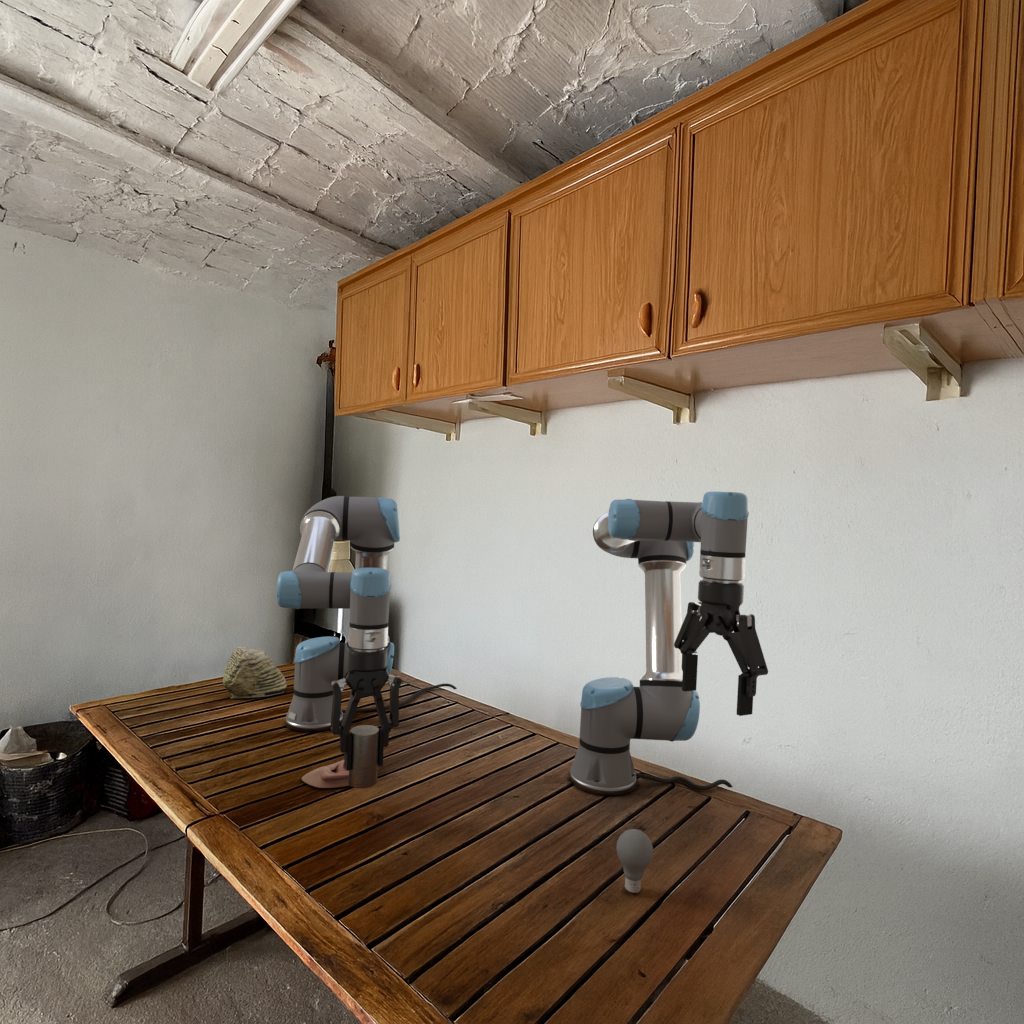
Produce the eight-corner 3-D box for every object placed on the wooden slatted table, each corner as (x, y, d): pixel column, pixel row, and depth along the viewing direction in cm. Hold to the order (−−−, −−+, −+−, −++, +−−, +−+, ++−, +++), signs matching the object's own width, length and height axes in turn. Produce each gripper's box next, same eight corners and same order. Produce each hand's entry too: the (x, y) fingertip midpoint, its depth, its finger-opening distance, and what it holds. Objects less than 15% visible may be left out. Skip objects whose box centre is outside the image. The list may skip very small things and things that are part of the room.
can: (342, 782, 123) (344, 730, 123) (363, 773, 128) (365, 722, 128) (361, 791, 120) (364, 737, 120) (383, 781, 125) (385, 729, 125)
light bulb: (610, 879, 108) (613, 822, 108) (644, 879, 109) (647, 822, 109) (619, 902, 102) (622, 840, 102) (655, 901, 103) (658, 840, 103)
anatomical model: (294, 766, 138) (320, 747, 150) (294, 784, 138) (320, 763, 150) (351, 774, 136) (373, 754, 147) (350, 792, 136) (372, 770, 147)
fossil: (218, 695, 195) (220, 647, 195) (278, 685, 208) (279, 640, 207) (228, 703, 189) (230, 653, 188) (289, 692, 201) (290, 645, 201)
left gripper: (322, 655, 116) (317, 780, 117) (419, 649, 124) (414, 766, 125) (315, 646, 123) (311, 764, 123) (408, 640, 131) (404, 751, 131)
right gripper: (658, 571, 120) (653, 683, 120) (760, 591, 97) (753, 728, 97) (690, 571, 123) (684, 680, 123) (795, 590, 100) (789, 723, 101)
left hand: (363, 765), depth 124 cm, fingers closed on can, 5 cm apart
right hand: (715, 701), depth 110 cm, fingers open, 13 cm apart
